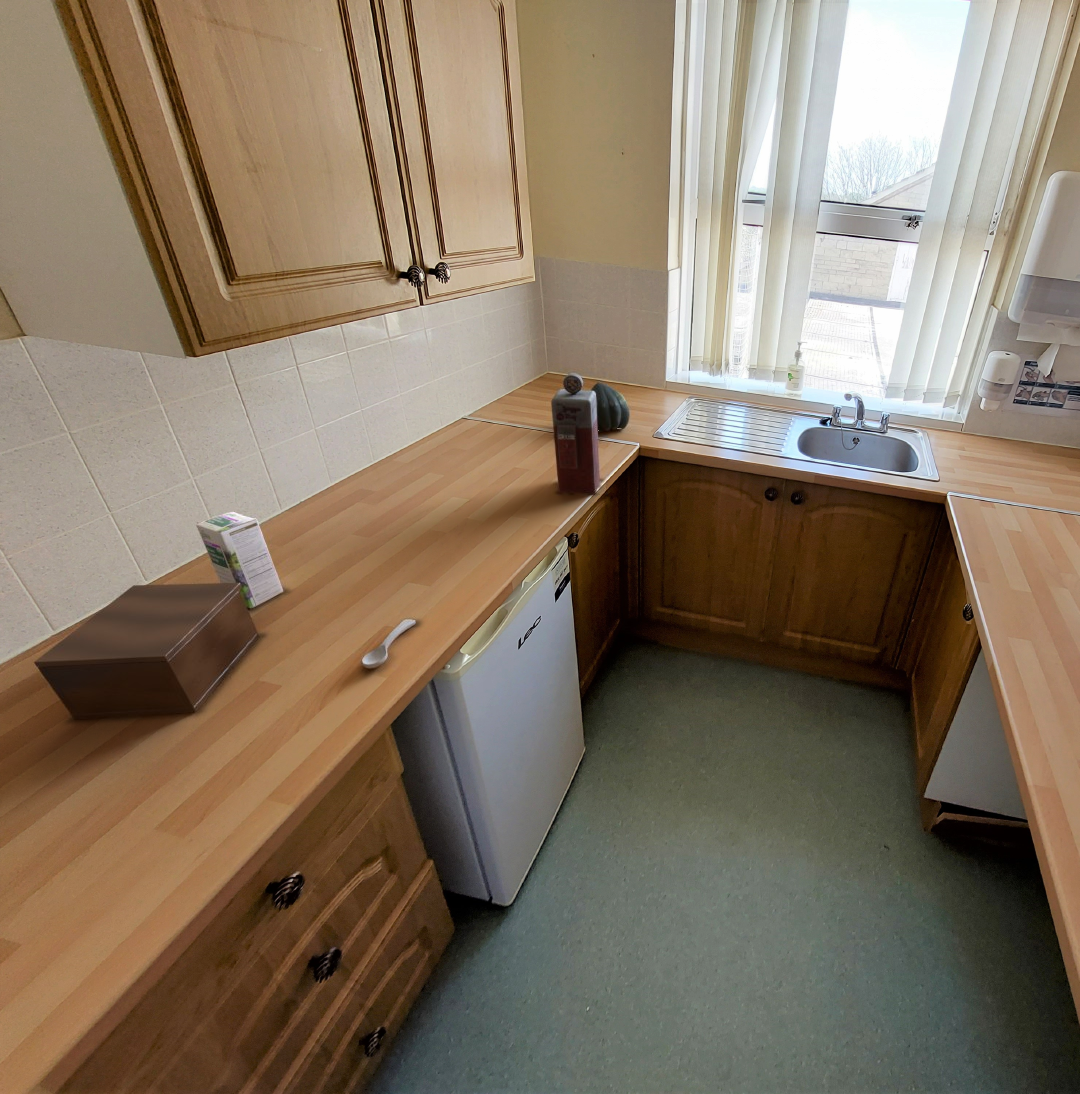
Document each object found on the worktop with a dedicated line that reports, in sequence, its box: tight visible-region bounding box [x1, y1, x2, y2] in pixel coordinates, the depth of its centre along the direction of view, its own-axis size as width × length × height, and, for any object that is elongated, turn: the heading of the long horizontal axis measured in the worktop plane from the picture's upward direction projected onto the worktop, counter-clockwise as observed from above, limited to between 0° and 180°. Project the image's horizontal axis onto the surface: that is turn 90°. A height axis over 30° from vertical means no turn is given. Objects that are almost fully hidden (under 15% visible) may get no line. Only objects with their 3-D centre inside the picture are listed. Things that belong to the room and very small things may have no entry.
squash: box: [589, 381, 631, 433], centre depth 180 cm, size 14×15×15 cm
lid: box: [33, 582, 242, 668], centre depth 76 cm, size 16×14×1 cm
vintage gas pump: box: [550, 372, 601, 495], centre depth 136 cm, size 9×11×28 cm
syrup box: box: [195, 511, 284, 609], centre depth 93 cm, size 6×6×14 cm
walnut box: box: [37, 591, 260, 720], centre depth 78 cm, size 16×14×9 cm
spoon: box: [361, 618, 416, 669], centre depth 88 cm, size 3×12×2 cm, turn 178°
